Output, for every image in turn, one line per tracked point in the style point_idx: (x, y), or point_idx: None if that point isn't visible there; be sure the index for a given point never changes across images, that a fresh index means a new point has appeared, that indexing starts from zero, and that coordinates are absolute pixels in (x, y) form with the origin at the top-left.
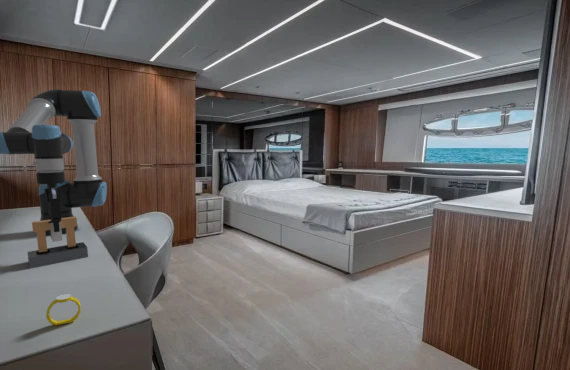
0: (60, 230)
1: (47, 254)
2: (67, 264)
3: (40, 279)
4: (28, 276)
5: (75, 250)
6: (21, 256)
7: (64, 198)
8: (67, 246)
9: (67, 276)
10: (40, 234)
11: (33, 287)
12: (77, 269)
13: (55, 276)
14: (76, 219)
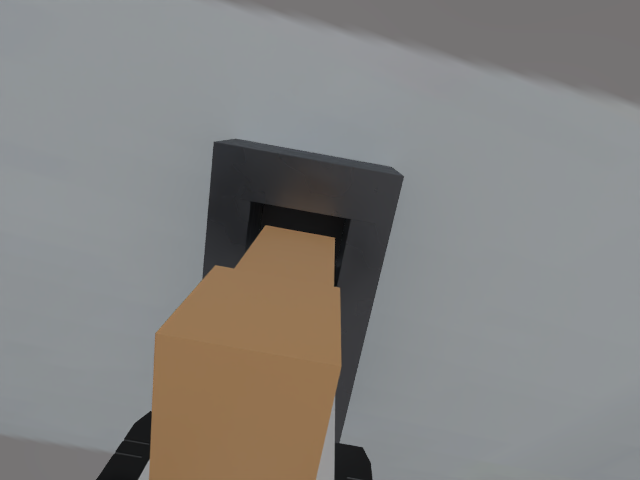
0: (334, 436)
1: (350, 393)
2: (433, 293)
3: (542, 425)
4: (449, 443)
5: (383, 250)
6: (72, 392)
7: None
8: None
9: (628, 349)
10: None
11: (614, 462)
12: (574, 288)
13: (569, 380)
14: (337, 346)
